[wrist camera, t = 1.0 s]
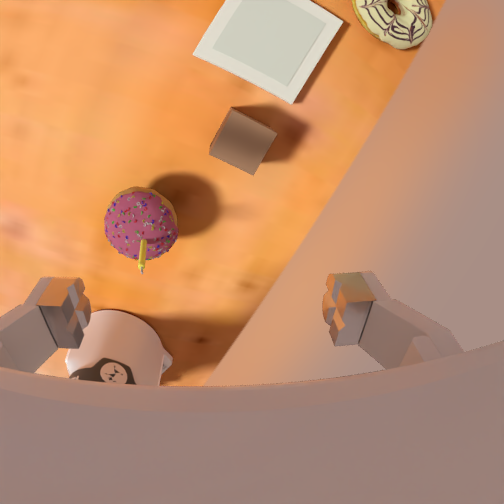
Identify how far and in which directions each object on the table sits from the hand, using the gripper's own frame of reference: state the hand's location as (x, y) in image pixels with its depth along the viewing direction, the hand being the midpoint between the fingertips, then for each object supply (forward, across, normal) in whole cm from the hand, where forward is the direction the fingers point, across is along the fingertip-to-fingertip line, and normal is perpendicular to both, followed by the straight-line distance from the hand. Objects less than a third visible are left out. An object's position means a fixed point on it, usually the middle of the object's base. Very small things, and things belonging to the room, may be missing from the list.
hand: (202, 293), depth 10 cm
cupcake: (+28, +8, +9) cm, 31 cm away
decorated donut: (+29, -20, -18) cm, 40 cm away
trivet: (+29, -6, -12) cm, 31 cm away
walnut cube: (+28, -3, 0) cm, 29 cm away
